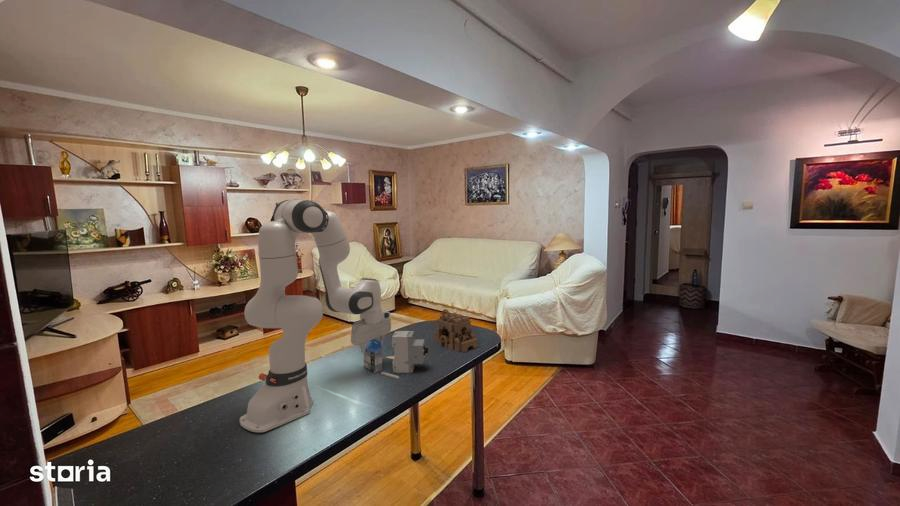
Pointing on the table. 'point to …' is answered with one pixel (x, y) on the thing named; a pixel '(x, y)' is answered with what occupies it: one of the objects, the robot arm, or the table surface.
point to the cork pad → (391, 357)
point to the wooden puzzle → (455, 332)
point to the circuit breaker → (407, 351)
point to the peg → (390, 375)
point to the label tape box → (373, 356)
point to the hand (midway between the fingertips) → (372, 348)
